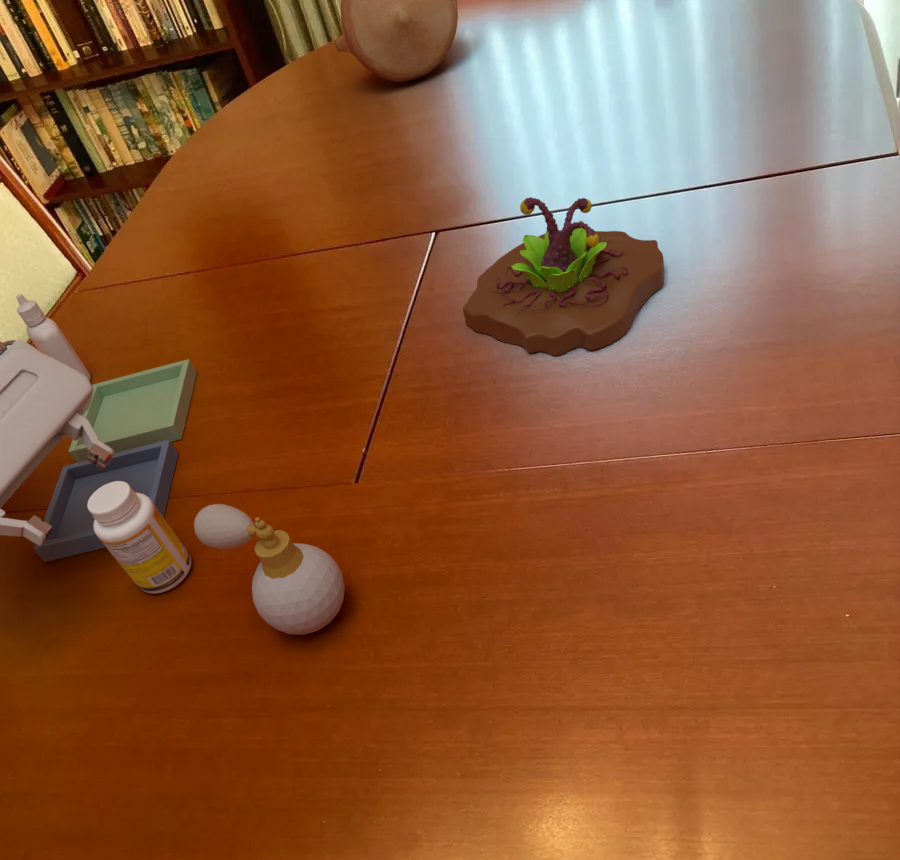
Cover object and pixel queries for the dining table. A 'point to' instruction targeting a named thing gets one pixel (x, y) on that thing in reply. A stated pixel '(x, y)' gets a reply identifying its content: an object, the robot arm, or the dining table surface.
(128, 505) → the supplement bottle
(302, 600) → the perfume bottle
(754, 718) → the dining table surface
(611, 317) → the plant
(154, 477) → the blue tray
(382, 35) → the jug
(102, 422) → the green tray
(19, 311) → the eye dropper bottle
